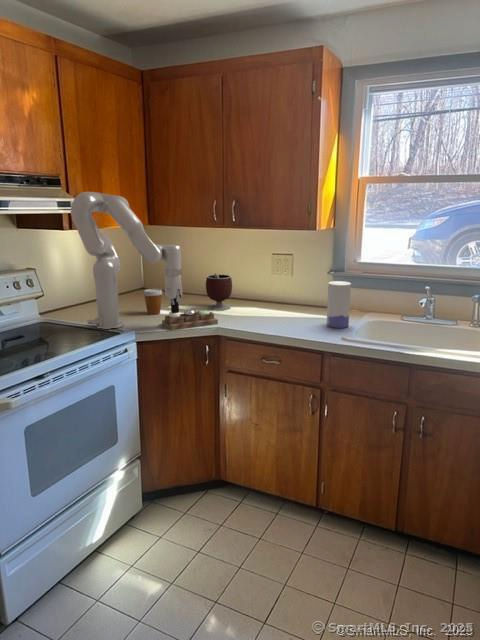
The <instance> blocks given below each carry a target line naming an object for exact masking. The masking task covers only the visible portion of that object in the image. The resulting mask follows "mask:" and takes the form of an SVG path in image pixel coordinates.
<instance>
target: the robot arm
mask: <svg viewBox="0 0 480 640" xmlns="http://www.w3.org/2000/svg"><path fill="white" fill-rule="evenodd" d="M94 212H95V213H103V214H108V215H109V216H111V218H112V219H113V220H114V222H115V223H116V224H117V225H118V226H119V227H120V229H122V231H123V232H124V233H125V235H126V237H127V238H128V239H129V241H130V243H131V244H132V246H133V247H134V249H135V250H136V251H137V252H138V254H139V255H141V257H142V258H143V259H144V260H145V261H146V262H148V263H150V264H157V263H159V262H160V261H163V266H164V295H165V297H167V298H168V299H169V302H170V312H172V313H179V312H180V303H181V299H182V298H183V287H182V278H181V277H182V276H183V274H182V273H183V272H182V250H181V246H180V245H178V244H156V243H154V242H153V241H152V240H151V239H150V237H149V236H148V235H147V233H146V231H145V229H144V225H143V222H142V221H141V220H140V218H139V217H138V216H137V214H135V213H134V211H133V210H132V209H131V207H130V203H129V202H128V200H127V199H126V198H125V197H124V196H121V195H115V194H109V193H108V194H107V193H102V192H95V191H83V192H81V193H79V194H78V195H77V196H75V198H74V199H73V201H72V203H71V206H70V217H71V218H72V221H73V224H74V225H75V228H76V230H77V233H78V235H79V237H80V240H81V241H82V243H83V246H84V248H85V250H86V252H87V253H88V255H91V256H94V257H95V258H96V261H95V262H94V264H93V265H92V273H93V274H92V275H93V279H94V286H95V295H96V296H95V297H96V308H97V309H96V310H97V316H96V318H94V319H88V320H87V325H94V327H95V326H96V327H101V328H117V329H120V328H123V326H124V322H123V321H121V319H120V304H119V303H120V301H119V290H118V281H117V274H118V273H119V272H120V270H121V268H122V267H121V262H120V258H119V256H118V253H117V250H115V247H114V244H113V241H112V240H111V239H110V237H109V236H108V235H107V234H105V233H103V232H101V231H100V229H99V227H98V224H97V222H96V221H95V219H94V217H93V214H92V213H94ZM96 327H95V328H96Z"/></svg>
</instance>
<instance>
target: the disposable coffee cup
mask: <svg viewBox="0 0 480 640" xmlns="http://www.w3.org/2000/svg"><path fill="white" fill-rule="evenodd" d="M142 294H143V296H144V301H145V305H146V312H147V315H150V316H154V315H155V316H156V315H160V314H161V308H162V305H161V304H162V295H163V290H162V289H161V288H148V289H147V288H146V289H145V290H144V291H143V293H142Z"/></svg>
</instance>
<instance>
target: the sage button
mask: <svg viewBox="0 0 480 640" xmlns="http://www.w3.org/2000/svg"><path fill="white" fill-rule="evenodd" d="M198 312H199V314H201V315H204V314H210V312H211V310H200V311H198Z"/></svg>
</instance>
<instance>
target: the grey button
mask: <svg viewBox="0 0 480 640" xmlns="http://www.w3.org/2000/svg"><path fill="white" fill-rule="evenodd" d="M195 312H196V310H195V309H185V310H184V313H183V314H184V316H186V317H188V316H195Z"/></svg>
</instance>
